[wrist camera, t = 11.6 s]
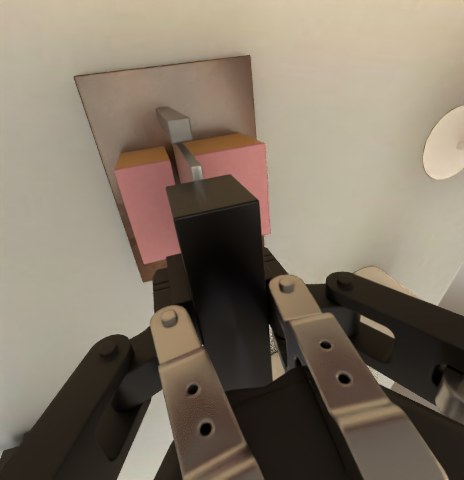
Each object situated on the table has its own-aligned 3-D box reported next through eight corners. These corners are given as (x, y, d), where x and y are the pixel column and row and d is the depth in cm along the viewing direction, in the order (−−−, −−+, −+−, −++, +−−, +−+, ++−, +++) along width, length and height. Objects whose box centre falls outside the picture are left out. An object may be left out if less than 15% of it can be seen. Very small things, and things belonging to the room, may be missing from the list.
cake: (143, 230, 26) (143, 264, 21) (119, 153, 23) (113, 170, 17) (247, 207, 28) (270, 233, 23) (239, 132, 24) (265, 143, 19)
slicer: (143, 274, 30) (143, 383, 19) (77, 77, 21) (3, 58, 10) (260, 245, 32) (322, 326, 21) (244, 57, 23) (338, 23, 12)
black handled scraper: (186, 277, 21) (222, 423, 12) (153, 139, 17) (168, 200, 7) (217, 269, 22) (275, 404, 12) (194, 132, 17) (258, 181, 8)
